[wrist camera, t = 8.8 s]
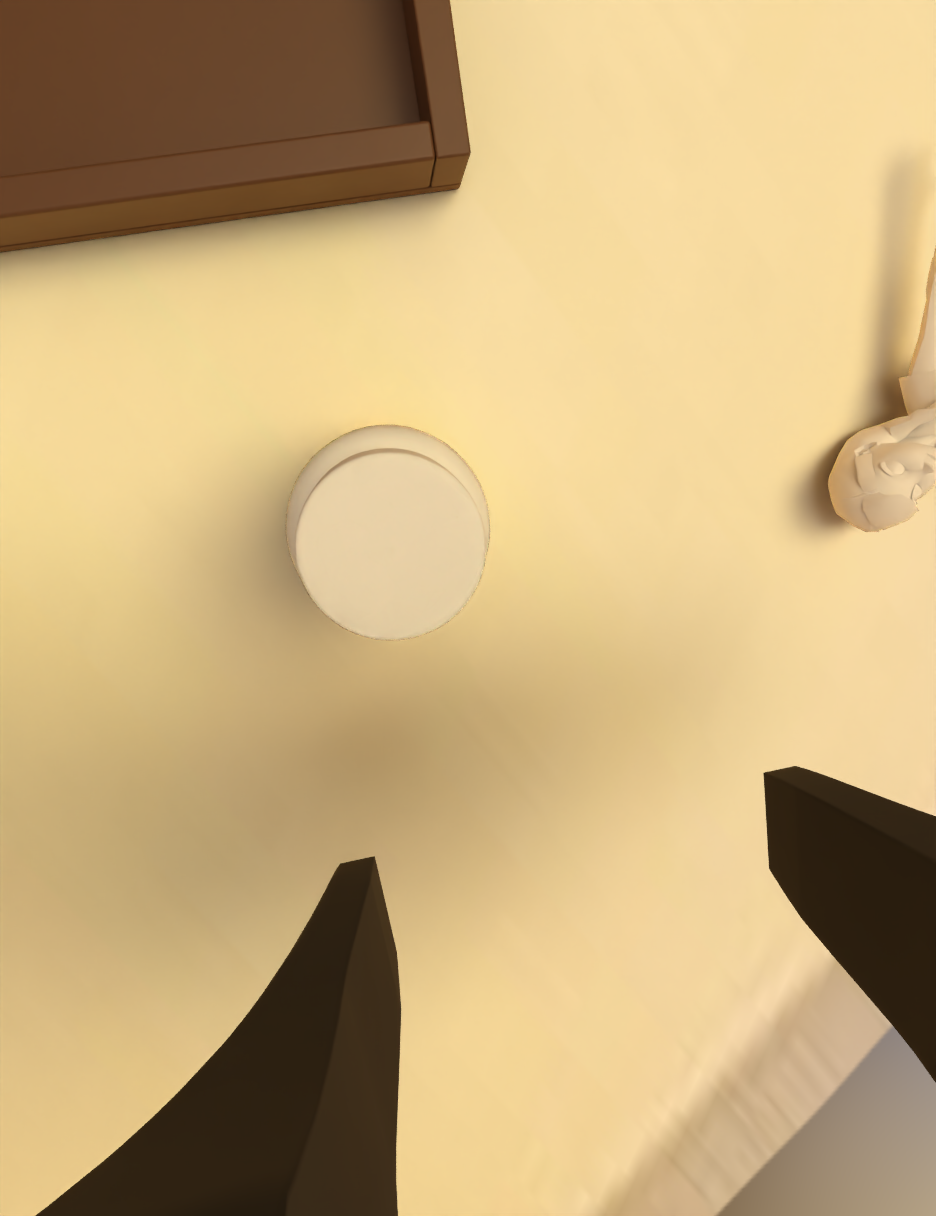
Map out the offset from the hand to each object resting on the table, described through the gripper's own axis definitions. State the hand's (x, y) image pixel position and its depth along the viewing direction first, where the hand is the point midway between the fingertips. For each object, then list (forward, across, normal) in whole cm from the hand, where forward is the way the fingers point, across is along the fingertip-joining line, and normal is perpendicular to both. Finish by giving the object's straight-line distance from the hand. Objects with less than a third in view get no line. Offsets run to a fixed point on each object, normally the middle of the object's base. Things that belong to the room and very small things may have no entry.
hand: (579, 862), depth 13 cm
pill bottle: (+10, +2, -6) cm, 12 cm away
